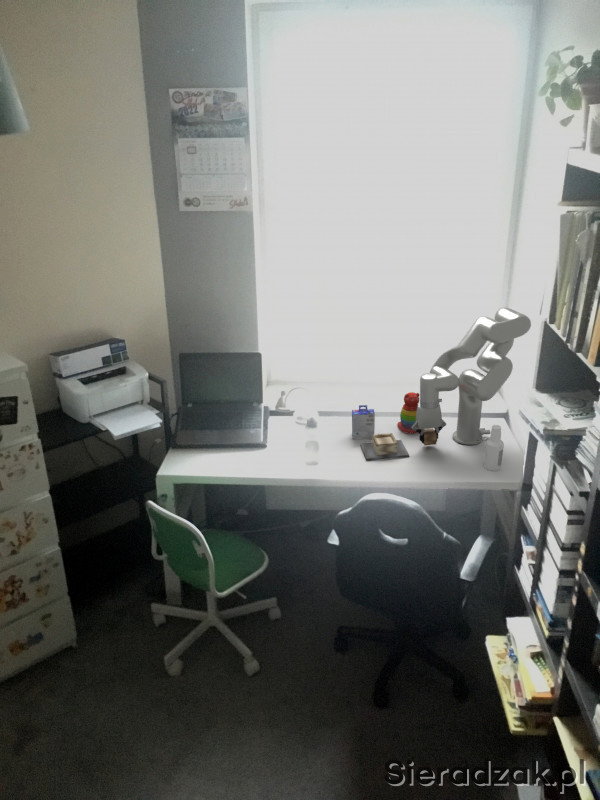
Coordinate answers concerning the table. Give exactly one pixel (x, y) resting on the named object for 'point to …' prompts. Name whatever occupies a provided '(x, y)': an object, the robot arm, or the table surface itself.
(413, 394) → the stacking bear
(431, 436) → the walnut block
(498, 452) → the spray bottle
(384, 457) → the build base
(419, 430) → the robot arm
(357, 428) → the ink cartridge box
